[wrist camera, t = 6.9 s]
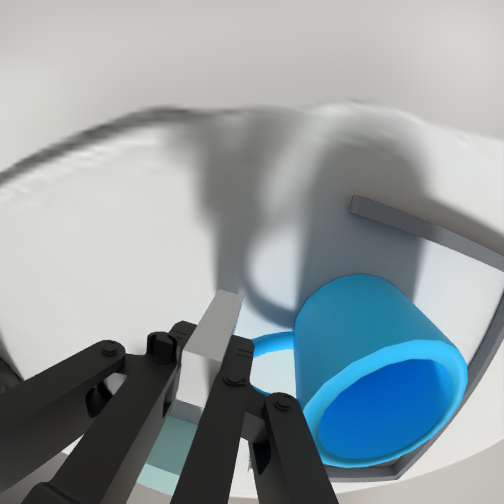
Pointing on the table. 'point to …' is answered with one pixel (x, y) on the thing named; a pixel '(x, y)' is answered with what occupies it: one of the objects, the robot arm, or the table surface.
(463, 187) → the table surface
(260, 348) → the mug
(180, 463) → the block
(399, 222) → the tray frame
